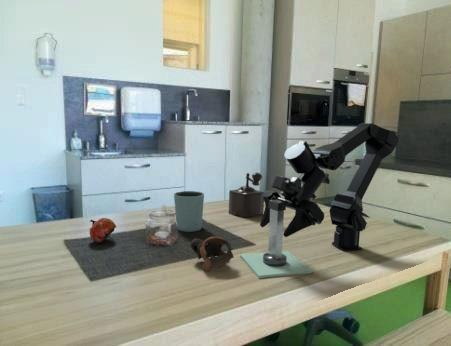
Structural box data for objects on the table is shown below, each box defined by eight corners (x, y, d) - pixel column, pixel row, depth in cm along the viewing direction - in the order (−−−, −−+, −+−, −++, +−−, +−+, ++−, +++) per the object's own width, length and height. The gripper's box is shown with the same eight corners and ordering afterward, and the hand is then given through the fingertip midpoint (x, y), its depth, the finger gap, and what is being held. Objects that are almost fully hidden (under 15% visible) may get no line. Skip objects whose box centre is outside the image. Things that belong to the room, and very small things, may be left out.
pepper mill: (226, 213, 144) (227, 169, 141) (245, 209, 151) (246, 167, 149) (255, 221, 133) (257, 173, 130) (274, 217, 140) (276, 171, 138)
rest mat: (287, 252, 101) (287, 250, 101) (312, 272, 88) (312, 270, 87) (240, 256, 97) (240, 254, 97) (258, 278, 84) (258, 275, 84)
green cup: (207, 231, 119) (208, 195, 118) (177, 233, 116) (178, 197, 114) (198, 223, 129) (198, 190, 127) (170, 225, 125) (170, 191, 123)
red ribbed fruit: (118, 245, 110) (96, 223, 111) (128, 229, 107) (105, 207, 108) (101, 255, 103) (78, 232, 105) (112, 239, 100) (88, 215, 102)
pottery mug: (237, 261, 95) (240, 240, 90) (221, 288, 88) (224, 268, 83) (197, 244, 99) (198, 223, 94) (179, 269, 92) (179, 248, 87)
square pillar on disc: (276, 256, 96) (278, 198, 94) (291, 263, 91) (294, 202, 89) (258, 260, 93) (260, 200, 91) (272, 268, 88) (275, 204, 86)
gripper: (268, 160, 99) (233, 203, 94) (319, 169, 83) (280, 220, 79) (288, 187, 104) (256, 228, 100) (339, 199, 88) (304, 249, 84)
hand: (272, 231), depth 90 cm, fingers open, 9 cm apart
